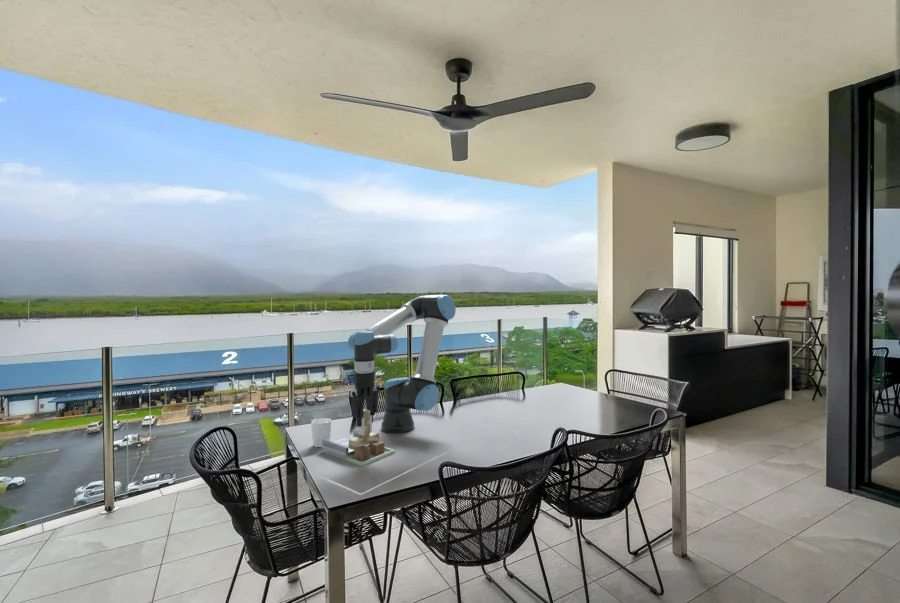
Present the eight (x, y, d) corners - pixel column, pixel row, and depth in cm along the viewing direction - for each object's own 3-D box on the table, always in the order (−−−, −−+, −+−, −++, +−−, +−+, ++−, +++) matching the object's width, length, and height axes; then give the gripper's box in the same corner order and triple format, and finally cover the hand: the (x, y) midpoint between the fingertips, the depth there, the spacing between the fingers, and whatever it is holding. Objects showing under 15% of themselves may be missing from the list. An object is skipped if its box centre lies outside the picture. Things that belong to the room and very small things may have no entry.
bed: (355, 441, 166) (355, 429, 166) (379, 448, 157) (379, 436, 157) (322, 452, 153) (322, 439, 154) (346, 461, 144) (346, 448, 144)
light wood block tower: (373, 438, 156) (374, 406, 156) (378, 440, 154) (379, 407, 154) (348, 447, 146) (349, 413, 146) (353, 449, 144) (354, 414, 144)
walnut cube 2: (377, 440, 153) (384, 442, 151) (377, 450, 153) (384, 452, 151) (369, 443, 150) (376, 445, 148) (369, 453, 150) (376, 456, 148)
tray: (379, 448, 157) (379, 445, 157) (395, 453, 151) (394, 449, 151) (346, 461, 144) (346, 457, 144) (362, 467, 139) (362, 463, 139)
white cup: (335, 443, 164) (335, 419, 164) (320, 449, 157) (320, 424, 157) (322, 440, 168) (322, 417, 168) (307, 446, 161) (307, 421, 161)
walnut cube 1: (363, 445, 148) (370, 447, 145) (363, 456, 148) (370, 458, 145) (354, 448, 145) (361, 451, 142) (354, 459, 145) (361, 462, 142)
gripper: (353, 375, 141) (354, 441, 141) (386, 369, 154) (387, 429, 154) (340, 373, 146) (341, 437, 146) (374, 368, 159) (374, 426, 158)
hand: (365, 433), depth 150 cm, fingers closed on light wood block tower, 3 cm apart
